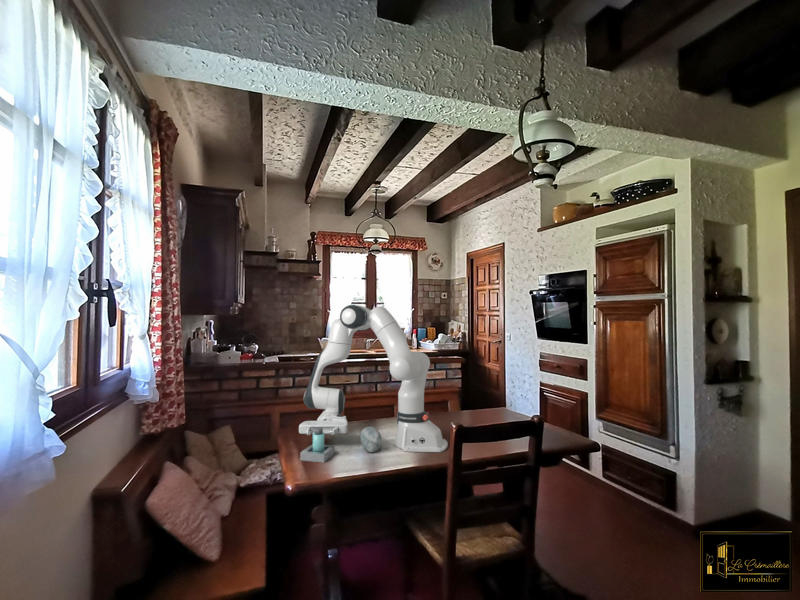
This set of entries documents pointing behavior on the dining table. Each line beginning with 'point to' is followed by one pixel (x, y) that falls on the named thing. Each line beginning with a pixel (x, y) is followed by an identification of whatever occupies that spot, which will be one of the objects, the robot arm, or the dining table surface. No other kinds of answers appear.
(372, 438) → the spool
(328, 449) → the housing
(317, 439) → the bottle
